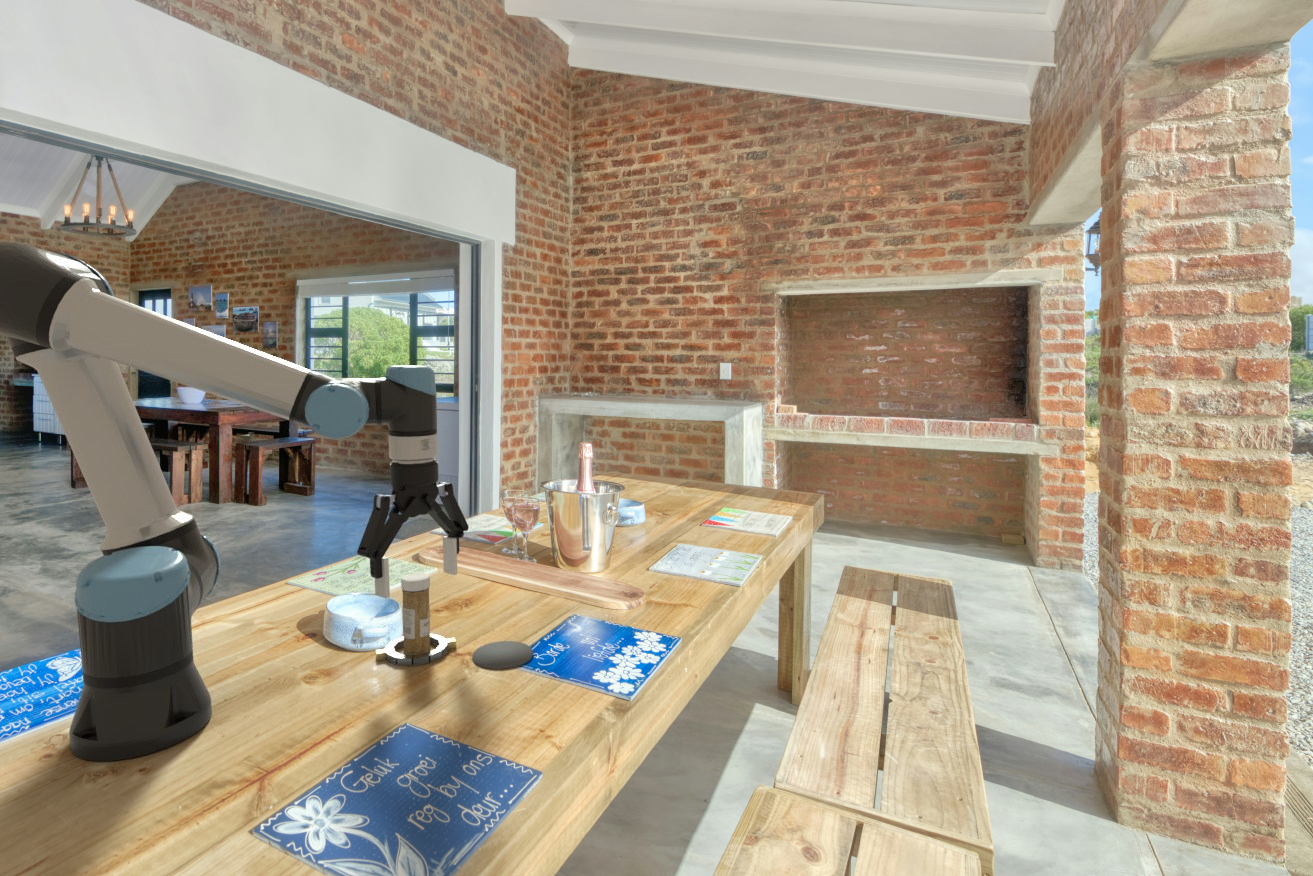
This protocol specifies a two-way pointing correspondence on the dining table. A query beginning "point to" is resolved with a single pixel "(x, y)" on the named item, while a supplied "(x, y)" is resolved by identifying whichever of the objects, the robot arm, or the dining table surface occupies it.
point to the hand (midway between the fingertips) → (418, 584)
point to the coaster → (502, 655)
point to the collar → (418, 659)
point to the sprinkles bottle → (416, 613)
